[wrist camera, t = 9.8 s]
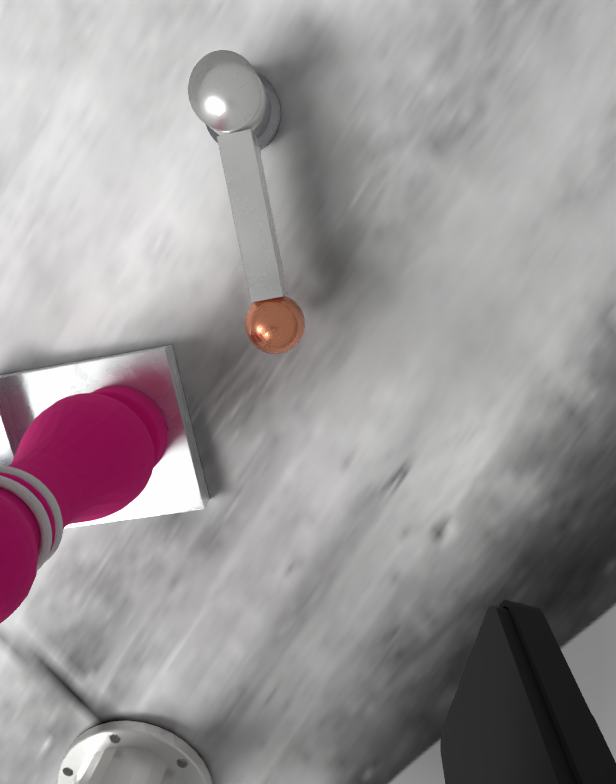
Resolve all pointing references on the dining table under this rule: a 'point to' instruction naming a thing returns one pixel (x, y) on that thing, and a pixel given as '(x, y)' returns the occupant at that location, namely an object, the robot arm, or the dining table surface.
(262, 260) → the lever
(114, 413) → the pepper mill
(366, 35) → the dining table surface
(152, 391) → the press bed
